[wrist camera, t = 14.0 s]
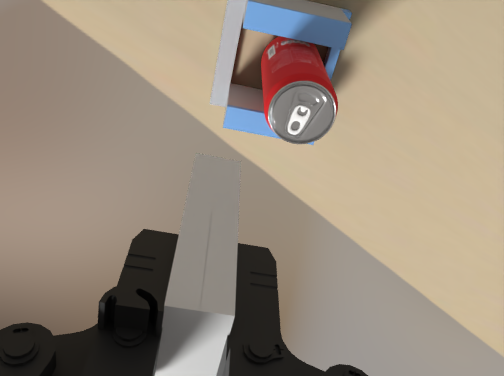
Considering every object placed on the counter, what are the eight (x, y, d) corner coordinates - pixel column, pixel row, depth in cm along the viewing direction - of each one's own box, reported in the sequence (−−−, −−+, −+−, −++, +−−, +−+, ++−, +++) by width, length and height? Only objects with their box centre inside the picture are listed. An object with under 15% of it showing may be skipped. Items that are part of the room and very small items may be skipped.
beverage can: (327, 42, 41) (353, 93, 31) (303, 94, 44) (319, 156, 34) (273, 21, 40) (282, 66, 30) (252, 75, 43) (253, 133, 33)
